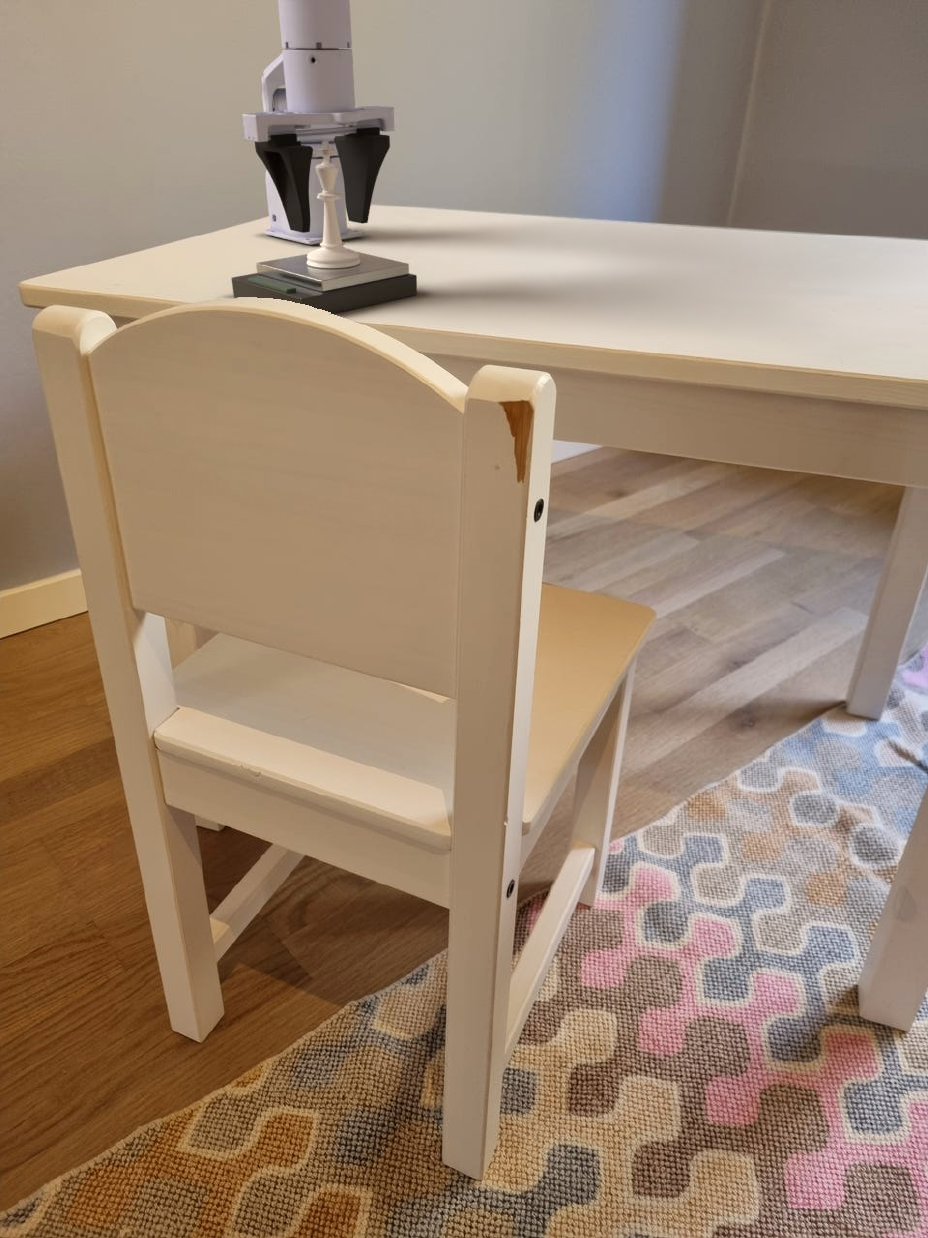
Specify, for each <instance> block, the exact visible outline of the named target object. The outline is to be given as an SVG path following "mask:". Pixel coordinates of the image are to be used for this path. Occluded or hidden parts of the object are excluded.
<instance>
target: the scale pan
mask: <svg viewBox="0 0 928 1238" xmlns="http://www.w3.org/2000/svg"><path fill="white" fill-rule="evenodd" d="M356 252H357V253H359V259H360V261H361V262H360V264H358V265H356V266H352V267H347V268H333V269H329V268H316V267H312V266H309V265H308V264H307V261H308V259H307V255H308V254H309V253H306V254H301V255H300V254H299V255H293V256H289V257H288V256H287V257H282V258H277V259H271V260H265V261H260V262H256V264H255V265H256V273H258V274H260V275H263V276H267V277H270V278H274V279H277V280H281V281H284V282H288V283H292V284H295V285H299V286H302V287H306V288H309V289H313V290H316V291H320V292H327V291H332V290H337V289H342V288H347V287H351V286H356V285H361V284H366V283H371V282H376V281H381V280H385V279H390V278H395V277H400V276H405V275H409V273H410V265H409V263H408V262H402V261H400V260H394V259H390V258H385V257H381V256H377V255H373V254H370V253H369V254H368V253H363V252H361V251H360V252H359V251H356Z"/></svg>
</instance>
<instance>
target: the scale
mask: <svg viewBox="0 0 928 1238" xmlns="http://www.w3.org/2000/svg"><path fill="white" fill-rule="evenodd" d="M230 279H231V287H232V293H233V298H235V299H237V298H236V297H257V298H273V299H281V300H287V301H292V302H295V303H300V304H305V305H309V306H312V307H314V308H317V309H322V310H325V311H328V312H331V313H333V314H337V313H342V312H346V311H351V310H355V309H361V308H364V307H368V306H373V305H377V304H383V303H386V302H391V301H396V300H400V299H404V298H408V297H414V296H417V295H418V277H417V274H414V273H410V272H409V275H405V276H400V277H395V278H390V279H385V280H381V281H376V282H371V283H366V284H361V285H356V286H351V287H347V288H342V289H337V290H332V291H327V292H320V291H316V290H313V289H309V288H306V287H302V286H299V285H295V284H292V283H288V282H284V281H281V280H277V279H274V278H270V277H267V276H263V275H260V274H258V273H257V272H254V273H250V274H244V275H239V276H232V277H231V278H230Z"/></svg>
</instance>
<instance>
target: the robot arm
mask: <svg viewBox="0 0 928 1238" xmlns="http://www.w3.org/2000/svg"><path fill="white" fill-rule="evenodd" d="M350 4H351V1H350V0H277V7H278V16H279V28H280V29H279V30H280V37H281V38H280V40H281V48H282V49H281V50H282V51H281V53H280V55H279V56H277V57H276V58H275V59H274V60H272V62H270V64H269V65H267V66H266V68H265V69H264V70H263V75H262V76H261V88H262V92H261V98H262V109H263V112H261V111H260V112H253V113H252V112H250V113H242V124H243V131H244V140H245V141H248V142H254V149H255V153H256V154H257V156H258V158H259V159H260V161H261V162H262V164H263V165H264V167H265V176H264V177H265V179H264V180H265V181H264V183H265V191H266V199H267V200H266V201H267V210H268V220H269V229H264V235H267V236H271V237H276V238H280V239H284V240H288V241H293V242H297V243H302V244H305V245H317V244H320V243H322V242H323V231H324V200H321V199H318V198H317V197H318V194H319V193H324V192H322V191H323V188H322V185H321V183H320V179H319V177H318V174H317V172H316V166H317V165H319V164H322V163H323V162H324V161H323V155H316V149H323V147H322V141H329V149H336V155H330V162H331V163H332V164H336V165H337V166H338V167H339V170H338V174H337V178H336V184H335V188H334V190H335V193H339V194H340V196H341V198H340V199H337V200H335V207H336V213H337V219H338V225H339V230H340V236H341V240H347V239H353V238H359V237H363V236H364V233H363V231H360V230H356V229H350V228H348V222H352V223H358V224H361V225H362V224H368V223H369V217H370V210H371V206H372V205H371V204H372V201H373V195H374V191H375V188H376V187H375V186H376V182H377V180H378V179H377V178H378V176H379V173H380V170H381V167H382V166H383V163H384V160H385V158H386V156H387V154H388V152H389V150H390V148H391V136H390V135H388V134H382V133H381V132H383V133H384V132H385V133H387V132H394V131H395V111H394V110H395V109H394V108H395V107H394V106H386V105H385V106H384V105H369V106H368V105H366V106H356V99H355V97H356V96H355V83H354V82H355V81H354V78H355V77H354V60H353V59H354V58H353V49H352V48H353V40H352V39H353V38H352V22H351V5H350ZM282 86H284V87H282Z"/></svg>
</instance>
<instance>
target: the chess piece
mask: <svg viewBox="0 0 928 1238" xmlns="http://www.w3.org/2000/svg"><path fill="white" fill-rule="evenodd" d="M322 147H323V149H316V155H323V161H324V162H323V163H322V164H319V165H317V166H316V172H317V174H318V177H319V179H320V183H321V185H322V188H323V191H322V192H324V193H319V194H318V197H317V198H318V199H321V200H324V231H323V242H322V243H319V246H320V248H317V249H314V250H312V251H310V252H309V253H307V254H308V255H307V259H308V261H307V264H308V265H309V266H312V267H316V268H329V269H333V268H347V267H352V266H356V265H358V264H360V262H361V261H360V259H359V253H357V252H358V251H356V250H354V249H351V248H347V247H345V245H346V243H345V242H344V241H342V240H343V239H342V240H341V236H340V230H339V225H338V219H337V213H336V207H335V200H337V199H340V198H341V196H340V194H339V193H335V190H334V188H335V184H336V178H337V174H338V170H339V167H338V166H337V165H336V164H332V163H331V162H330V155H336V149H329V141H322Z"/></svg>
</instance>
